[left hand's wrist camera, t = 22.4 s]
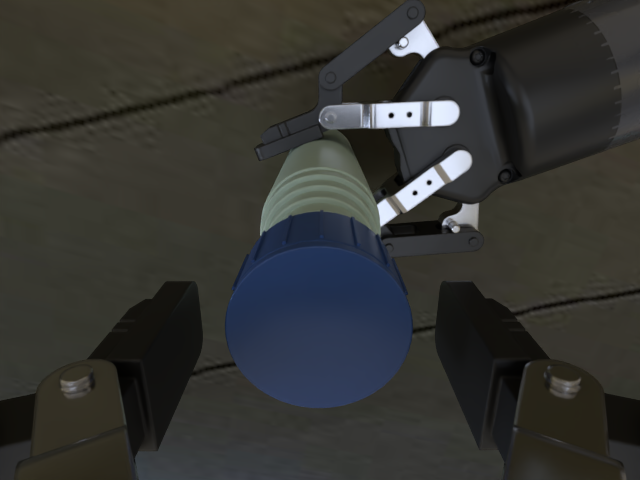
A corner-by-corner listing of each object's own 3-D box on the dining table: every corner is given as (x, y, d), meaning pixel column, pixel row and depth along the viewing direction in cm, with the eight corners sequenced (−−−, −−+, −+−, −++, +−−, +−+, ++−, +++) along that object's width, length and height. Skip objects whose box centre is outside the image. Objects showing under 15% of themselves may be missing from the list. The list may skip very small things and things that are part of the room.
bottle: (322, 201, 31) (321, 423, 11) (277, 159, 30) (182, 317, 10) (366, 157, 30) (456, 313, 10) (320, 111, 29) (316, 180, 9)
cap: (215, 297, 12) (188, 352, 9) (299, 177, 10) (293, 205, 8) (336, 369, 12) (339, 436, 10) (426, 265, 11) (454, 314, 9)
